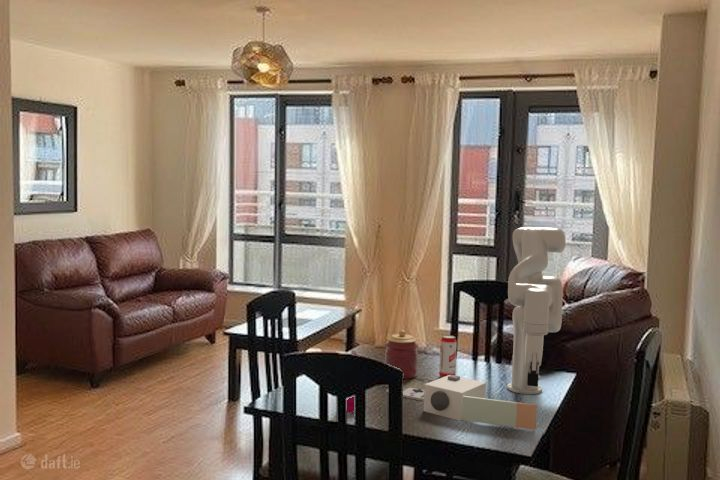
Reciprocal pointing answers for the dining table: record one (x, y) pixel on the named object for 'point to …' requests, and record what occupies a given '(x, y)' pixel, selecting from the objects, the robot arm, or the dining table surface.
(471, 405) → the side door
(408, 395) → the handheld gaming console
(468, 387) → the block
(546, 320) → the robot arm
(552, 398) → the dining table surface
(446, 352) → the beer can
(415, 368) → the canister
